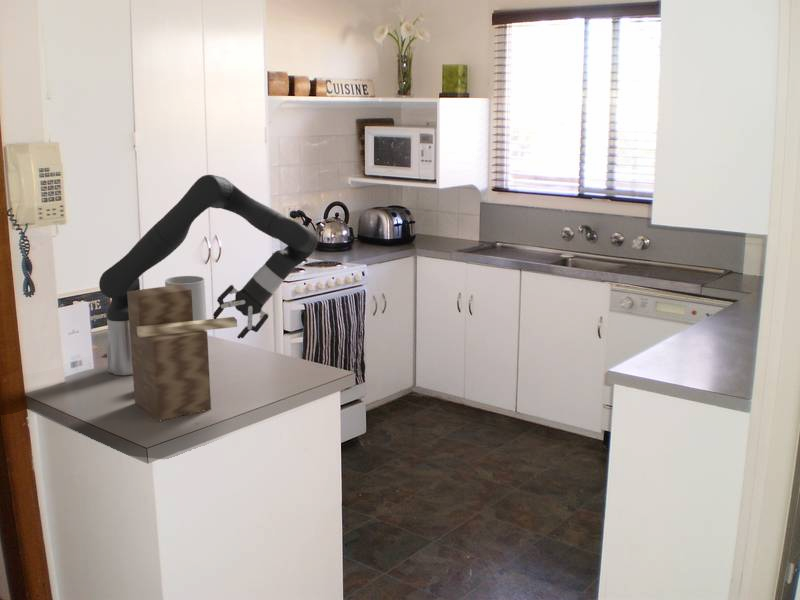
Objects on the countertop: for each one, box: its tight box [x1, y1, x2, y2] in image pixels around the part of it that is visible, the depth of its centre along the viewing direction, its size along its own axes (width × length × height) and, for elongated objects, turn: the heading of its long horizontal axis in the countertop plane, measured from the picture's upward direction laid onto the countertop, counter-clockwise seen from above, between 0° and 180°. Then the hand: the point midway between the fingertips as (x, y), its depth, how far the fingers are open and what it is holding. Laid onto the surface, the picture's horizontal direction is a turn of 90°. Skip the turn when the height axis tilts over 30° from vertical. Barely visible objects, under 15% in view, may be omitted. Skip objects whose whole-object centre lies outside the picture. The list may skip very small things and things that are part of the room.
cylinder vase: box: [164, 275, 208, 333], centre depth 281 cm, size 12×12×25 cm
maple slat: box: [137, 316, 238, 337], centre depth 230 cm, size 26×4×2 cm, turn 114°
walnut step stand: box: [127, 284, 212, 422], centre depth 232 cm, size 15×17×32 cm
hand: (226, 328), depth 239 cm, fingers open, 8 cm apart
